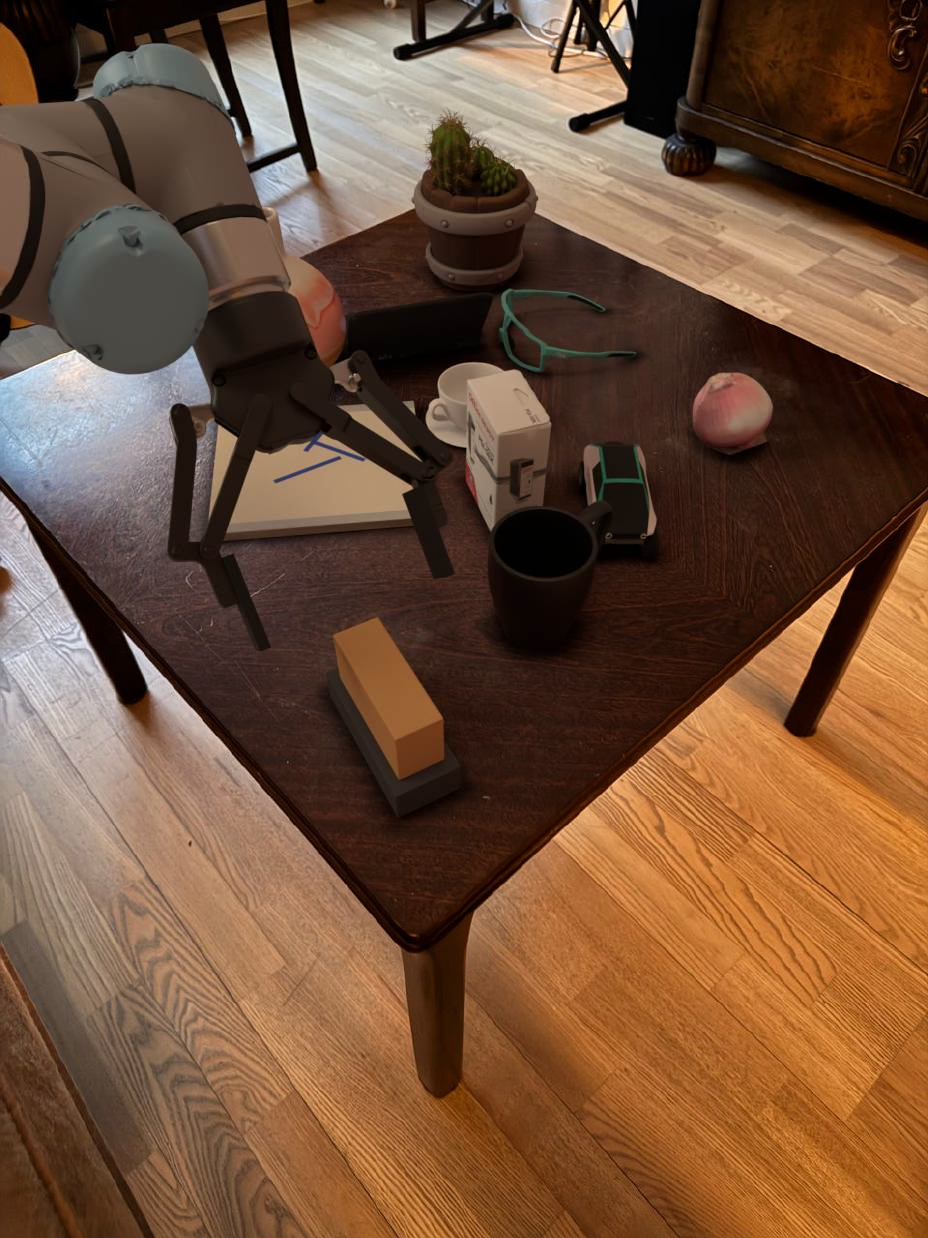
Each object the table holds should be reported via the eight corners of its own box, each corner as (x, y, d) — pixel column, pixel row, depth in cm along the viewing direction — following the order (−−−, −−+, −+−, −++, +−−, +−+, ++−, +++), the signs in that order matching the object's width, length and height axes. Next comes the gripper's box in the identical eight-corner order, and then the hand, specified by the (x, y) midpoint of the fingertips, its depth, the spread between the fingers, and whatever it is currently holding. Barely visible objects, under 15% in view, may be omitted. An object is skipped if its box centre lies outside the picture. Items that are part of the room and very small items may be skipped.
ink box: (463, 480, 84) (463, 375, 75) (510, 470, 85) (516, 365, 76) (492, 540, 79) (497, 433, 70) (543, 528, 80) (553, 422, 71)
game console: (459, 307, 105) (460, 232, 98) (494, 368, 97) (496, 292, 90) (333, 325, 102) (324, 250, 95) (356, 390, 94) (348, 313, 87)
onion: (701, 408, 92) (716, 348, 86) (773, 430, 89) (793, 369, 84) (675, 450, 87) (690, 389, 82) (751, 474, 85) (771, 412, 79)
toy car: (637, 475, 84) (646, 430, 80) (654, 563, 77) (665, 518, 73) (577, 475, 84) (583, 430, 80) (587, 563, 77) (595, 518, 73)
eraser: (398, 819, 60) (391, 757, 54) (329, 695, 67) (316, 628, 61) (461, 788, 62) (461, 725, 56) (388, 671, 69) (381, 603, 63)
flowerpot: (497, 236, 117) (503, 68, 102) (553, 288, 108) (568, 112, 93) (398, 258, 113) (388, 86, 98) (446, 314, 104) (444, 134, 89)
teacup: (492, 384, 94) (494, 345, 91) (540, 434, 89) (543, 395, 85) (409, 409, 91) (407, 370, 88) (453, 463, 86) (452, 423, 82)
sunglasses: (480, 318, 103) (485, 278, 100) (596, 313, 107) (605, 274, 103) (515, 384, 94) (522, 342, 91) (640, 377, 98) (651, 336, 94)
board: (209, 542, 78) (206, 533, 77) (221, 421, 90) (219, 413, 89) (430, 524, 80) (429, 516, 79) (413, 408, 92) (413, 400, 91)
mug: (635, 604, 73) (654, 521, 66) (535, 680, 68) (544, 599, 61) (564, 553, 77) (575, 469, 70) (464, 622, 72) (465, 538, 65)
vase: (218, 351, 99) (180, 191, 85) (336, 332, 101) (318, 174, 88) (235, 421, 90) (196, 256, 77) (363, 398, 93) (347, 234, 79)
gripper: (395, 283, 64) (492, 552, 67) (50, 377, 56) (177, 678, 59) (426, 242, 57) (533, 545, 60) (37, 343, 49) (181, 687, 52)
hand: (357, 612), depth 60 cm, fingers open, 13 cm apart
